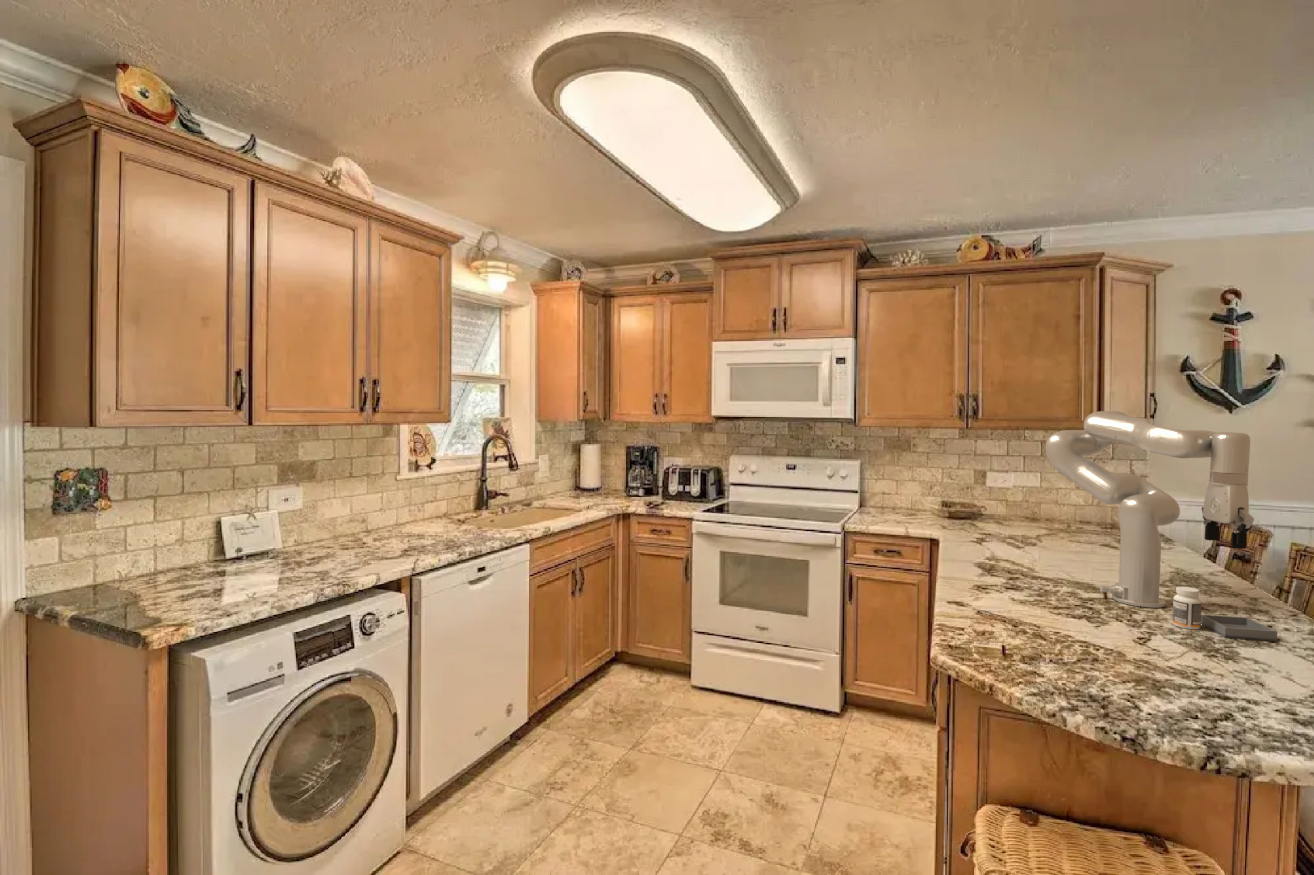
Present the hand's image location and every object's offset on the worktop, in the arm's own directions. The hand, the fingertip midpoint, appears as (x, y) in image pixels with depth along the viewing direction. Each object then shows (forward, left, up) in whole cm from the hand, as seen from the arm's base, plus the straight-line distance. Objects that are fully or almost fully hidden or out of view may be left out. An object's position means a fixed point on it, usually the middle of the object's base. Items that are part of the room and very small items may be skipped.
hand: (1224, 544), depth 169 cm
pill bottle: (-10, -5, -21) cm, 24 cm away
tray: (0, -7, -21) cm, 22 cm away
